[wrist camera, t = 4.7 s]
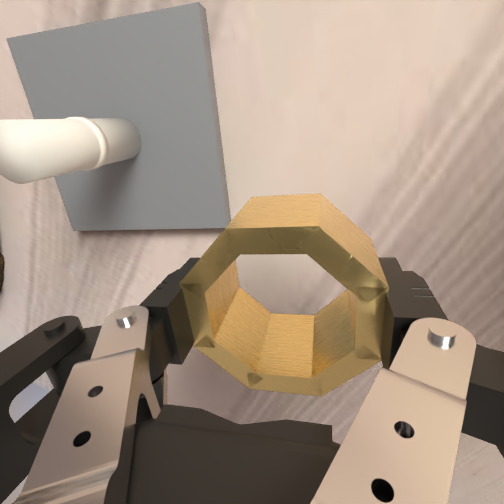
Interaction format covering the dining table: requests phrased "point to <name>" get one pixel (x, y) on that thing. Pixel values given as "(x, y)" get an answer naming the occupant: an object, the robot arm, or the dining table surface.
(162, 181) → the post base
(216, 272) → the ring
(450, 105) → the dining table surface
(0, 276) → the hand tool
